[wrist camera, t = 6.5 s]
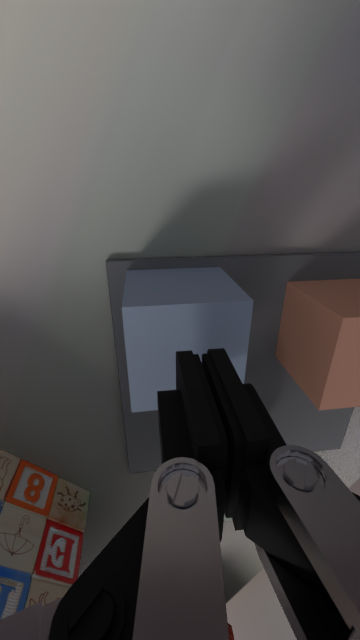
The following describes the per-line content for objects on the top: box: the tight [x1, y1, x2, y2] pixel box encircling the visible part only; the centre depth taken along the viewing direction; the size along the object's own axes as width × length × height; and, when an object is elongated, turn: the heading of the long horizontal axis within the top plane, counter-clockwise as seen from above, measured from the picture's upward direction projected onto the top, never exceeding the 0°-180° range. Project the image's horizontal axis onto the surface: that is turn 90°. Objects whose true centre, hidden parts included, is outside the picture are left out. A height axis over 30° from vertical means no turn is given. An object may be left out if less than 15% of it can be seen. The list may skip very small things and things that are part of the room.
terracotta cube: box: [275, 279, 360, 411], centre depth 16 cm, size 5×5×5 cm
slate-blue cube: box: [122, 267, 254, 412], centre depth 14 cm, size 5×5×5 cm
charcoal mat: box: [106, 252, 360, 473], centre depth 19 cm, size 16×17×1 cm
